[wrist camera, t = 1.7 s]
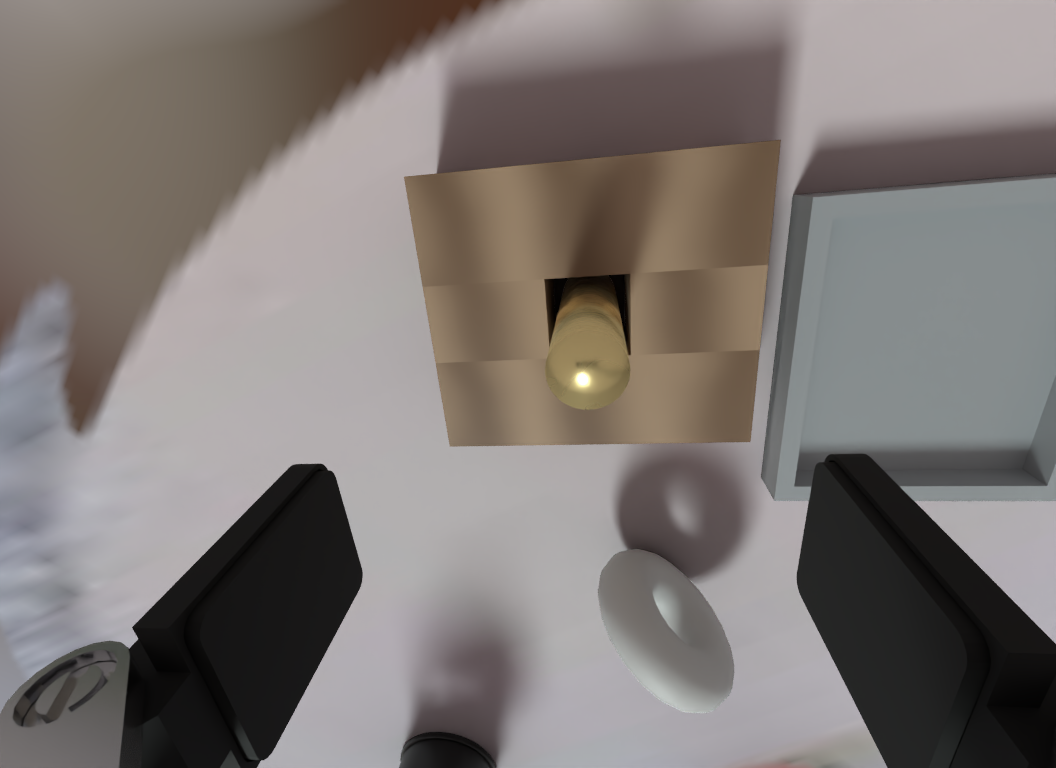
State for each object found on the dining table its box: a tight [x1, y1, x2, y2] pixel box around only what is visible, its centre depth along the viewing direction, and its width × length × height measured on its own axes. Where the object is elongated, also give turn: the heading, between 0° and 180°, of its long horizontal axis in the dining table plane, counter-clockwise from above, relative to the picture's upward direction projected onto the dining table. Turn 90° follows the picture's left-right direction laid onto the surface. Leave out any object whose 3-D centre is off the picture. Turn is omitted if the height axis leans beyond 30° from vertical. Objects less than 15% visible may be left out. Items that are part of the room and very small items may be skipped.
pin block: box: [404, 140, 781, 446], centre depth 26 cm, size 16×14×5 cm
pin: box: [545, 275, 630, 410], centre depth 23 cm, size 3×3×12 cm
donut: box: [598, 549, 734, 713], centre depth 31 cm, size 10×3×10 cm, turn 52°
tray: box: [761, 173, 1056, 501], centre depth 26 cm, size 15×17×2 cm
